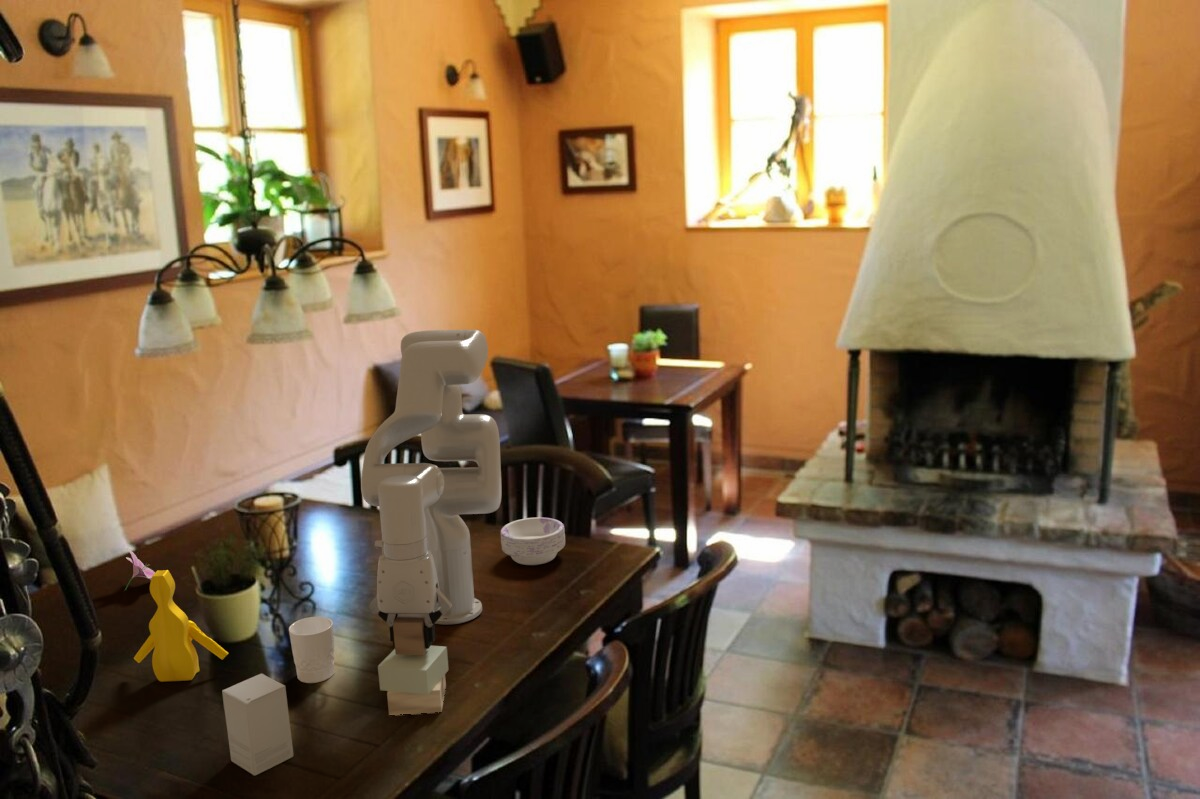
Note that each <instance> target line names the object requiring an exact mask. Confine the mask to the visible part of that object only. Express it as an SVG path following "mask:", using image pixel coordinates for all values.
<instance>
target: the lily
mask: <svg viewBox="0 0 1200 799" xmlns="http://www.w3.org/2000/svg"><path fill="white" fill-rule="evenodd" d="M123 546H124V547H125V548H126V550H127V551H128V552H129V553H130V555H131V558H130V557H128V556H127V557H125V558H126V559H127V560H128V561H130V563H132V566H133V568H132V569H133V570H132V571H133V574H132V577H131V578H130V579H129V581H128V583H127V584H126V587H125V589H124V591H125V590H126V591H127V588H128V587H129V585H130V583H131V581H132V580H134V578H136V577H140V578H145V579H149V580H150V581H151V578H152V576H153V575H154V574H155V572H156V571H154V570H153V569H152V568H150V566H151V564H149V563H148V562H146V563H145V565H144V563H143V562H142V561H141V560H140V559H138V557H137V555H136V554H135V553H134V552H133V551H132V550H131V549H130V548H129V547H128V546H126V545H125V544H124V545H123Z"/></svg>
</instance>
